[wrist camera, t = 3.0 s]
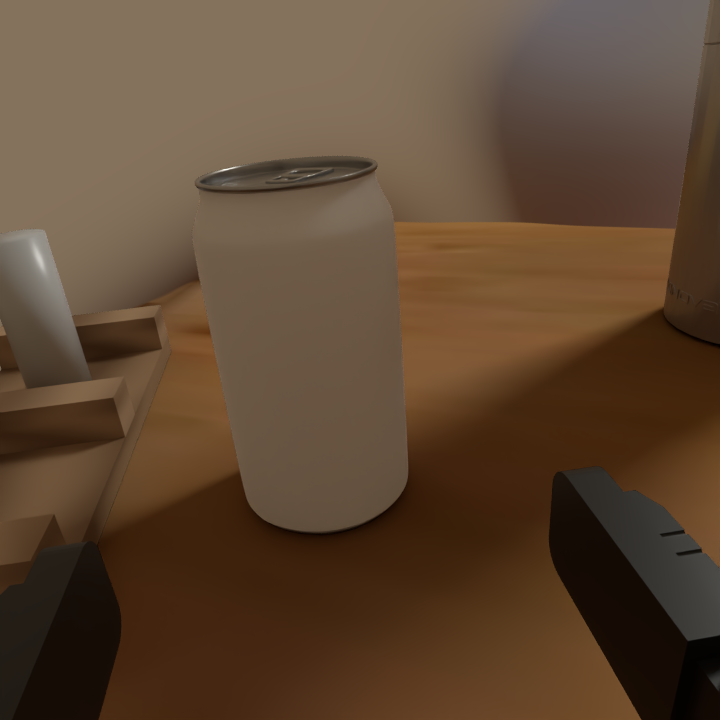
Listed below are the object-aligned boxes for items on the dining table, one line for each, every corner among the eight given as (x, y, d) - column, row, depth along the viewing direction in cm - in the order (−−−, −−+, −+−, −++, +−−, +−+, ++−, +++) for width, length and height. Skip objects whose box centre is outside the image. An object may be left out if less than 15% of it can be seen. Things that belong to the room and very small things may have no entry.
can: (211, 516, 22) (132, 189, 17) (299, 427, 27) (259, 156, 22) (366, 561, 20) (329, 191, 14) (432, 453, 25) (422, 151, 20)
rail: (171, 350, 37) (160, 305, 35) (62, 635, 18) (30, 561, 17) (21, 369, 36) (4, 323, 35) (-258, 687, 17) (-318, 613, 16)
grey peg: (99, 373, 32) (53, 226, 29) (83, 399, 30) (30, 241, 26) (42, 380, 32) (-11, 233, 29) (20, 407, 29) (-41, 249, 26)
